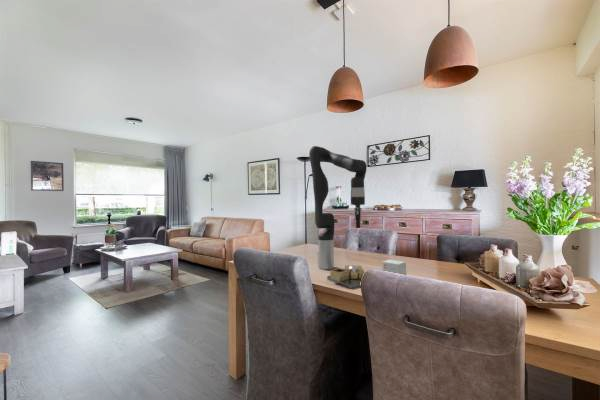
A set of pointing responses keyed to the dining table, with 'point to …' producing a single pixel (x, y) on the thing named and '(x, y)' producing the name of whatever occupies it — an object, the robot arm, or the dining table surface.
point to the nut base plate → (348, 280)
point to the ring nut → (346, 273)
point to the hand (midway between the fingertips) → (358, 227)
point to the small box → (394, 266)
